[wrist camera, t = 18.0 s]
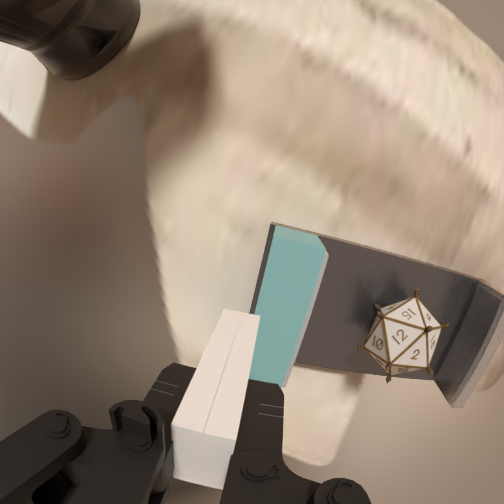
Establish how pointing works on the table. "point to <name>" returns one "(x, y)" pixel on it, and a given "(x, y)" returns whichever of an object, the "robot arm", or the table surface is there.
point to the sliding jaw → (286, 302)
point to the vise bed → (389, 292)
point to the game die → (403, 337)
